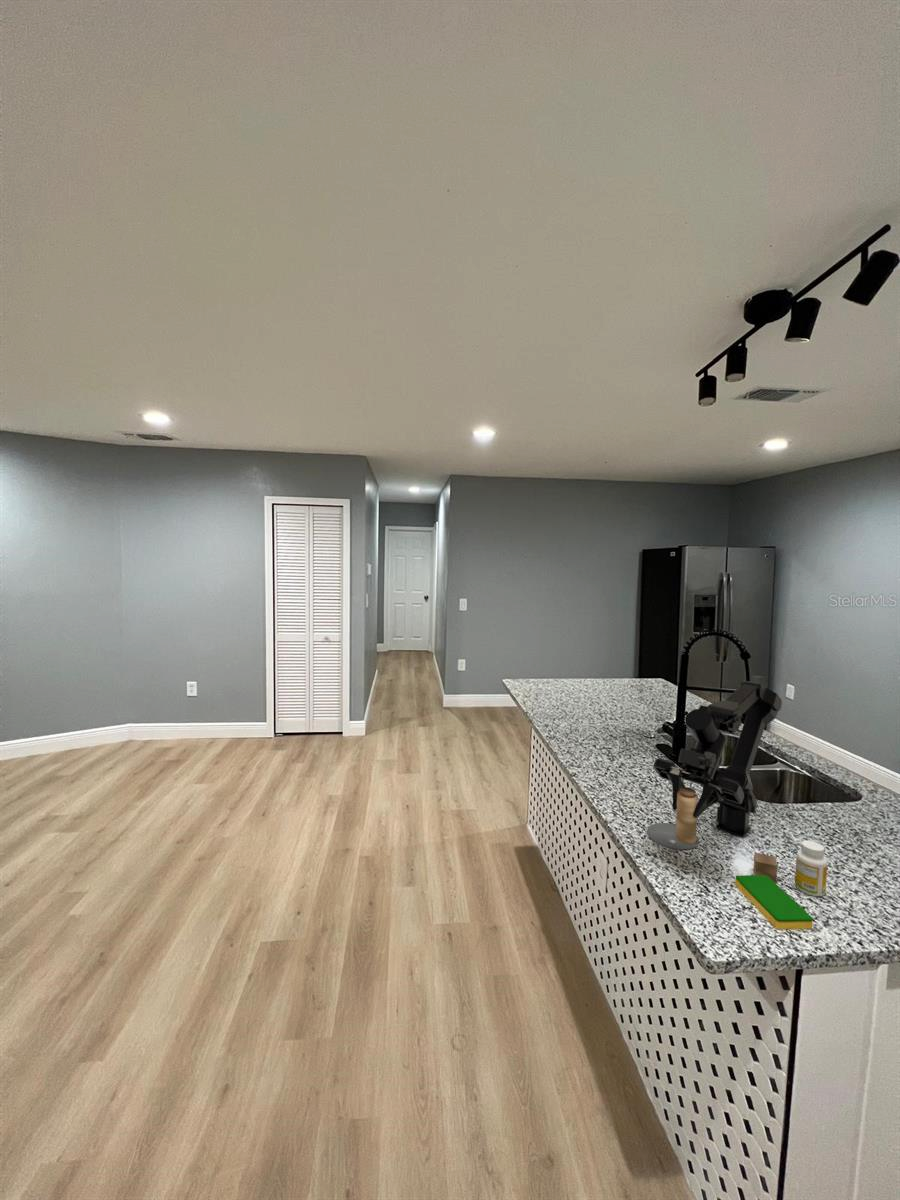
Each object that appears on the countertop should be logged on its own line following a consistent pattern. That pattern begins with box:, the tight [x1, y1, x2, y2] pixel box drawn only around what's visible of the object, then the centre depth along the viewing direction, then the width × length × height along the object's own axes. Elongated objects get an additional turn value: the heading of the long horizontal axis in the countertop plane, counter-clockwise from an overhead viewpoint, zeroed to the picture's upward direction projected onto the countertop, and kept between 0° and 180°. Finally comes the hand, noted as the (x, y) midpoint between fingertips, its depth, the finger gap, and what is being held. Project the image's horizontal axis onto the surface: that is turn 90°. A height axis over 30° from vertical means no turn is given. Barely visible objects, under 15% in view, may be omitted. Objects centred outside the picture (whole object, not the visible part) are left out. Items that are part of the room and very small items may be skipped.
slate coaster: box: [646, 822, 700, 851], centre depth 131 cm, size 12×12×1 cm
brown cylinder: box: [675, 786, 699, 845], centre depth 117 cm, size 4×4×12 cm
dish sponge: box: [734, 874, 814, 930], centre depth 105 cm, size 7×14×2 cm, turn 3°
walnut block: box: [753, 851, 778, 884], centre depth 115 cm, size 4×4×4 cm
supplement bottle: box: [794, 840, 828, 897], centre depth 110 cm, size 5×5×10 cm
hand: (683, 813), depth 116 cm, fingers closed on brown cylinder, 4 cm apart
